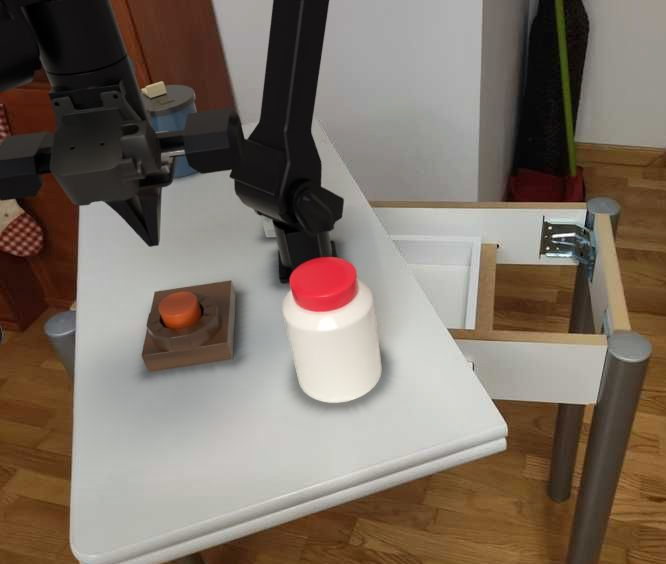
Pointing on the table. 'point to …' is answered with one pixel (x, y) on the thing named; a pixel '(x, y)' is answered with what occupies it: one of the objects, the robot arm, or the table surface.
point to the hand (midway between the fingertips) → (154, 243)
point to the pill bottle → (332, 330)
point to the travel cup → (172, 116)
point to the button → (180, 310)
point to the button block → (192, 330)
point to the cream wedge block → (154, 89)
